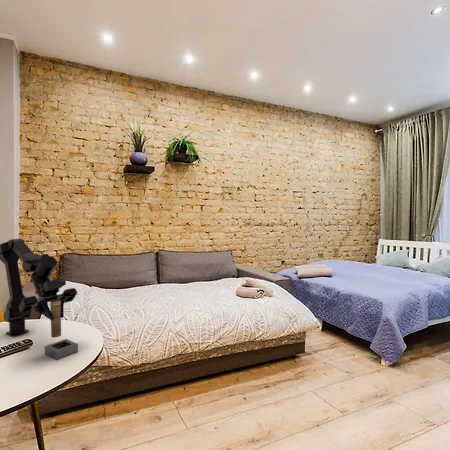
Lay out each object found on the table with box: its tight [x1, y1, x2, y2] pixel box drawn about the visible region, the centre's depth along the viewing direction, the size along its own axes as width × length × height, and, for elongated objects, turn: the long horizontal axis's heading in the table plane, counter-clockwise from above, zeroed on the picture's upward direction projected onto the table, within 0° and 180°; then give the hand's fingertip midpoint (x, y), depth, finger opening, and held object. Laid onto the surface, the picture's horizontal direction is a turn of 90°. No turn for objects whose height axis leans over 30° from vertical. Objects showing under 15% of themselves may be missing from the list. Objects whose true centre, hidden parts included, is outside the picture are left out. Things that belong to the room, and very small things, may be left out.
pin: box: [49, 299, 62, 339], centre depth 114 cm, size 3×3×13 cm
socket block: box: [44, 338, 79, 361], centre depth 116 cm, size 8×8×3 cm
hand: (57, 318), depth 113 cm, fingers closed on pin, 3 cm apart
